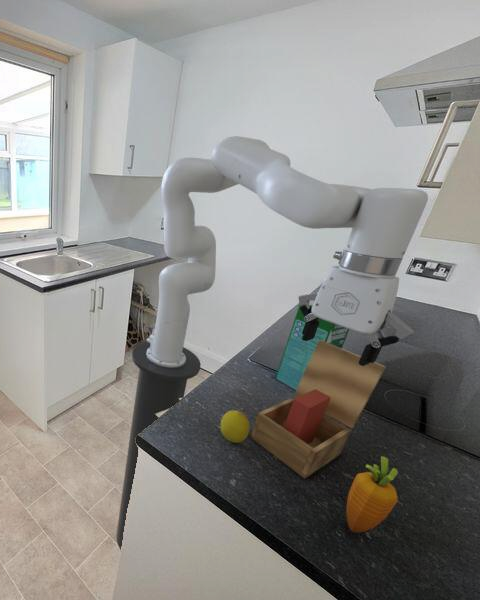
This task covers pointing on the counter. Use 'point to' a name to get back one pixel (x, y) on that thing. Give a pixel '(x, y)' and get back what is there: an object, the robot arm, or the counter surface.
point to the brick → (307, 415)
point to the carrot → (371, 497)
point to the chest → (299, 440)
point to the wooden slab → (340, 381)
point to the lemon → (234, 426)
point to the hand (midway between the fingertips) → (334, 350)
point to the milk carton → (306, 347)
